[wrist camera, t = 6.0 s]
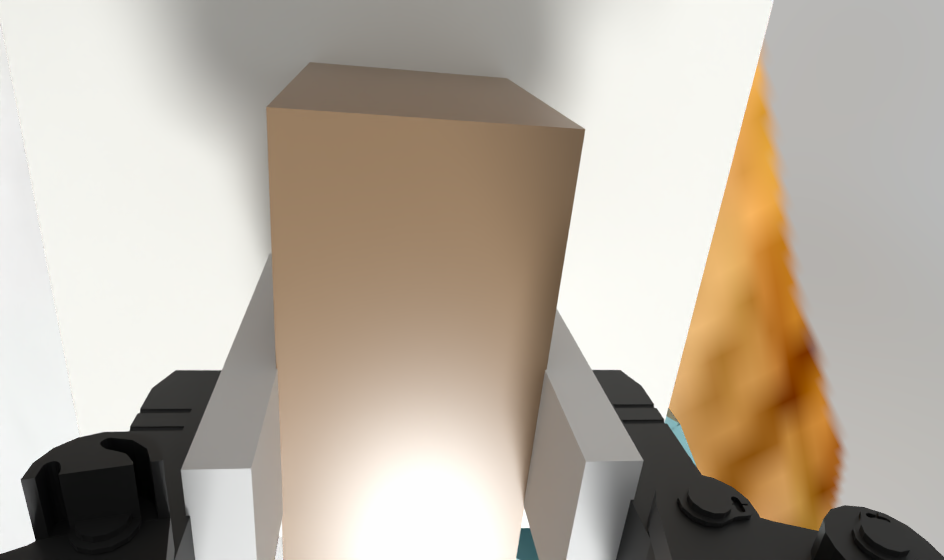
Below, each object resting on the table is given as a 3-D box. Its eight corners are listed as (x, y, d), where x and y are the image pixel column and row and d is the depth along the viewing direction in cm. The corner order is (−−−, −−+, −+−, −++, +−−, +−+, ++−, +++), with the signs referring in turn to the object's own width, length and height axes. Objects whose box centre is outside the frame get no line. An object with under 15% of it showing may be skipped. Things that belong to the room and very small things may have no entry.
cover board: (114, 515, 18) (-18, 776, 12) (4, -112, 12) (-379, -221, 6) (626, 499, 20) (730, 710, 14) (754, -26, 14) (1027, -39, 8)
